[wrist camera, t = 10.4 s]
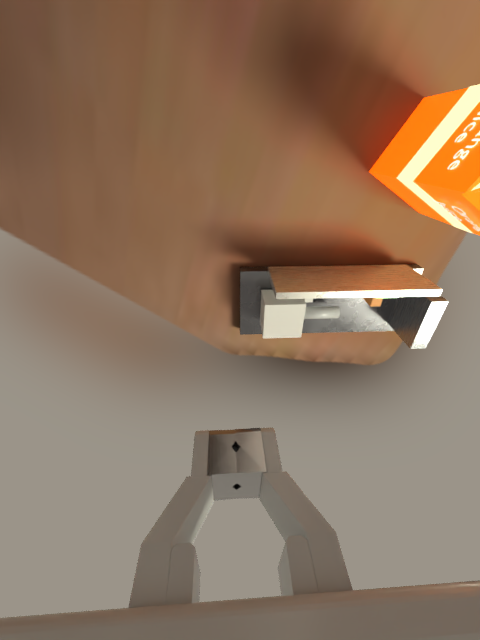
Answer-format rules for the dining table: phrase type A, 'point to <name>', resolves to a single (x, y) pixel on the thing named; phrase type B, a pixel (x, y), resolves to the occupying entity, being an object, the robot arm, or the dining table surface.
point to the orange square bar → (373, 301)
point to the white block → (289, 315)
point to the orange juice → (438, 159)
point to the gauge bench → (349, 298)
